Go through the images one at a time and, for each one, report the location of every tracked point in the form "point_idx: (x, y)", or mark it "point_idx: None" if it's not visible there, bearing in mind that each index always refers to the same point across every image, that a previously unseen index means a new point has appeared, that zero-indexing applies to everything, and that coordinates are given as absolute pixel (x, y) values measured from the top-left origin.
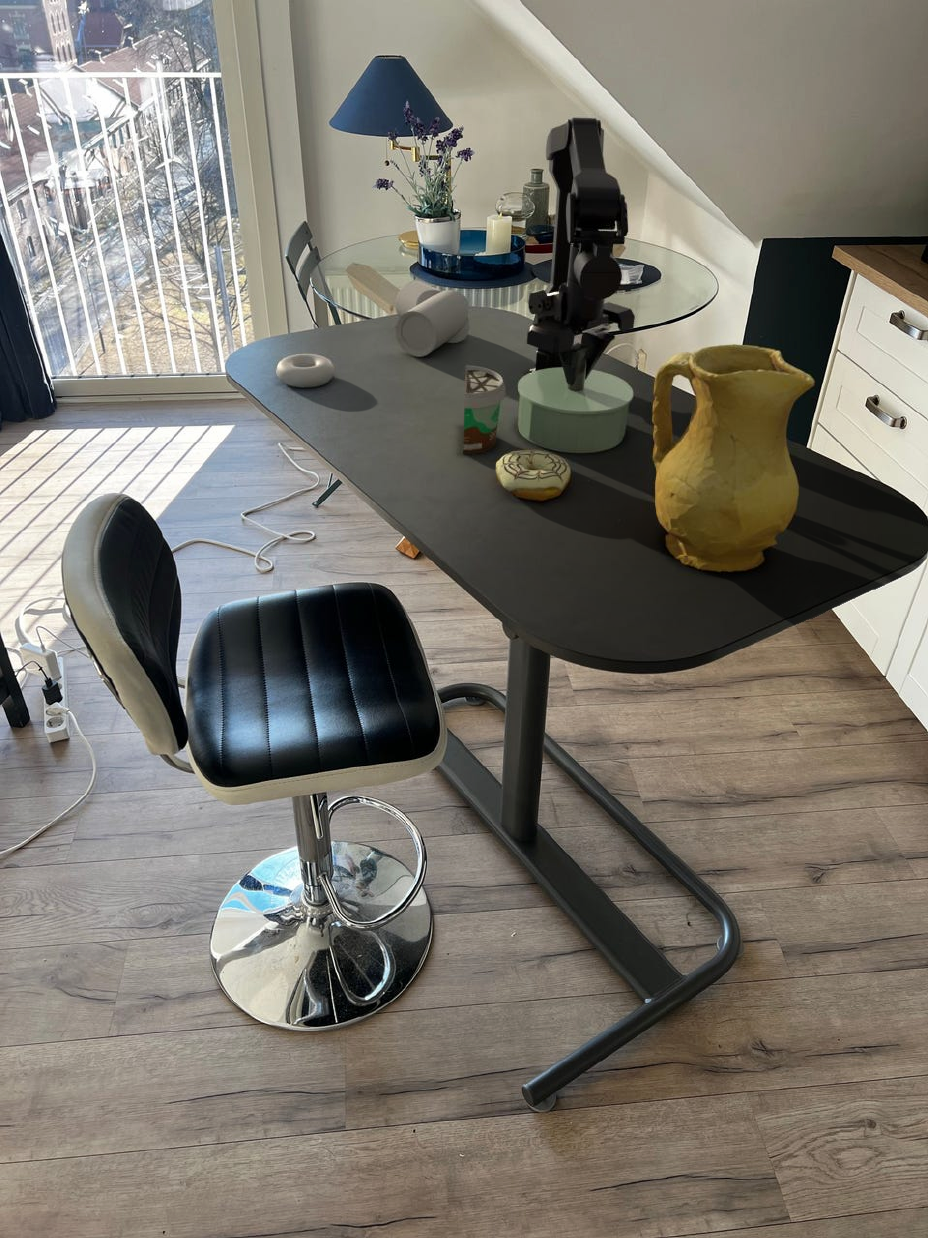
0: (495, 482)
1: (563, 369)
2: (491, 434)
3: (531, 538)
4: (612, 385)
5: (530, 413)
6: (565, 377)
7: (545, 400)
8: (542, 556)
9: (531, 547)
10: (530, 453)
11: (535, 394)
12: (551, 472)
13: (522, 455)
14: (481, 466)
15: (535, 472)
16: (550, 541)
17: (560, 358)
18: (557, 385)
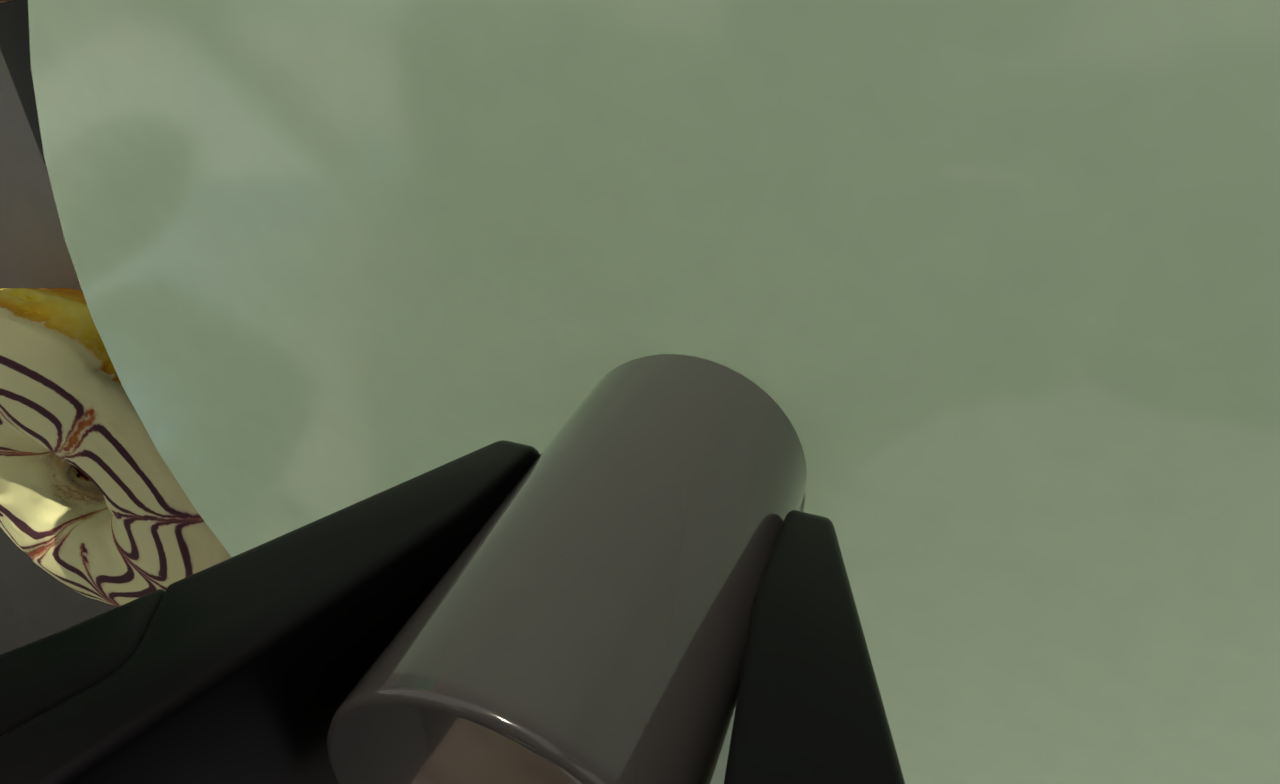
0: (27, 282)
1: (297, 533)
2: (2, 2)
3: (30, 566)
4: (1146, 776)
5: None
6: (426, 476)
7: (186, 354)
8: (29, 617)
9: (16, 582)
10: (54, 446)
11: (160, 177)
12: (83, 588)
13: (13, 423)
14: (7, 115)
15: (21, 538)
16: (73, 611)
17: (34, 642)
18: (565, 219)
